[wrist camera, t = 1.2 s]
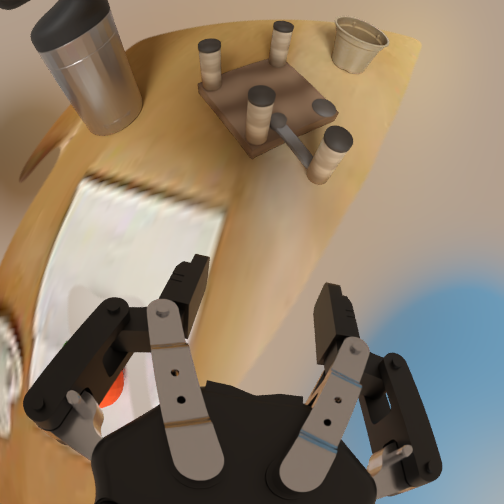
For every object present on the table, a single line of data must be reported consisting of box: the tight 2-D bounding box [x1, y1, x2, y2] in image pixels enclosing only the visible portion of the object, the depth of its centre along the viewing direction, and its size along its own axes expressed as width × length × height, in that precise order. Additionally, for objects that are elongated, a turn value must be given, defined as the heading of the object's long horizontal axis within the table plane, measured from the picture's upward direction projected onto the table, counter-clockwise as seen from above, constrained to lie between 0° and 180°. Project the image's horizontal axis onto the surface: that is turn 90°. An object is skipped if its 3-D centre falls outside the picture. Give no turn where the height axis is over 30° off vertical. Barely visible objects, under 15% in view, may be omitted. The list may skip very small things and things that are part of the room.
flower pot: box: [332, 16, 389, 74], centre depth 34 cm, size 9×9×9 cm
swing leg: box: [269, 112, 353, 185], centre depth 27 cm, size 10×3×8 cm, turn 33°
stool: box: [198, 21, 339, 159], centre depth 30 cm, size 14×14×10 cm
